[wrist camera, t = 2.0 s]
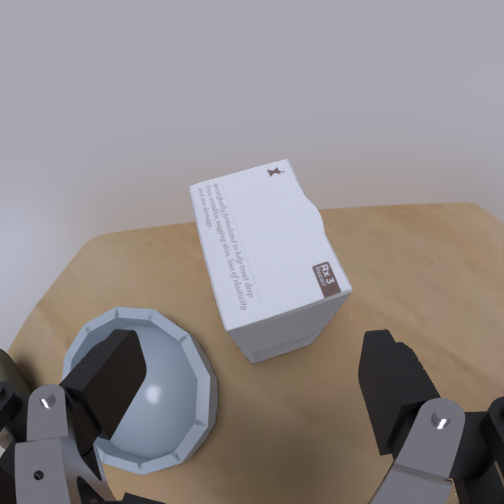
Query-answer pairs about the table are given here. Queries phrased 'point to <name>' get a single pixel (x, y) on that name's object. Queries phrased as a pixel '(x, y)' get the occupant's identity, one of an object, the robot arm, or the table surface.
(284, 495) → the table surface
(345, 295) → the skincare box
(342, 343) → the table surface
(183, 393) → the bowl
